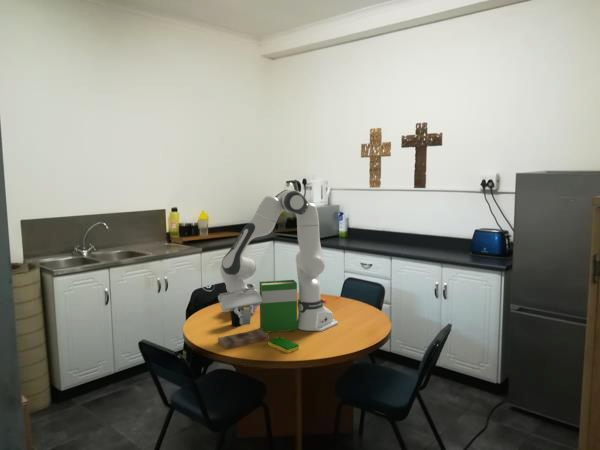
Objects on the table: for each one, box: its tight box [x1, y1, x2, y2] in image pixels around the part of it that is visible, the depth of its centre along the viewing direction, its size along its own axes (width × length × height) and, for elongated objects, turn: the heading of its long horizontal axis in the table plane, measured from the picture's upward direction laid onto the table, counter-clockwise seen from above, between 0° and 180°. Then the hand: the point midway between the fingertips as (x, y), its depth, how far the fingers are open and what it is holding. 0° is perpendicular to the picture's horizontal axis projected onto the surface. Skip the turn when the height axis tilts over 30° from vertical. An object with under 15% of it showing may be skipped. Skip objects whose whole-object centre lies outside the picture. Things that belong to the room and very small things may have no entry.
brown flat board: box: [217, 328, 270, 350], centre depth 217 cm, size 22×9×2 cm, turn 123°
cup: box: [229, 309, 243, 328], centre depth 238 cm, size 8×8×12 cm
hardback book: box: [259, 279, 298, 333], centre depth 232 cm, size 18×7×24 cm, turn 103°
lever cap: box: [240, 307, 252, 326], centre depth 216 cm, size 4×3×8 cm
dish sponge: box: [267, 336, 300, 354], centre depth 210 cm, size 7×14×2 cm, turn 43°
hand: (246, 315), depth 215 cm, fingers closed on lever cap, 4 cm apart
